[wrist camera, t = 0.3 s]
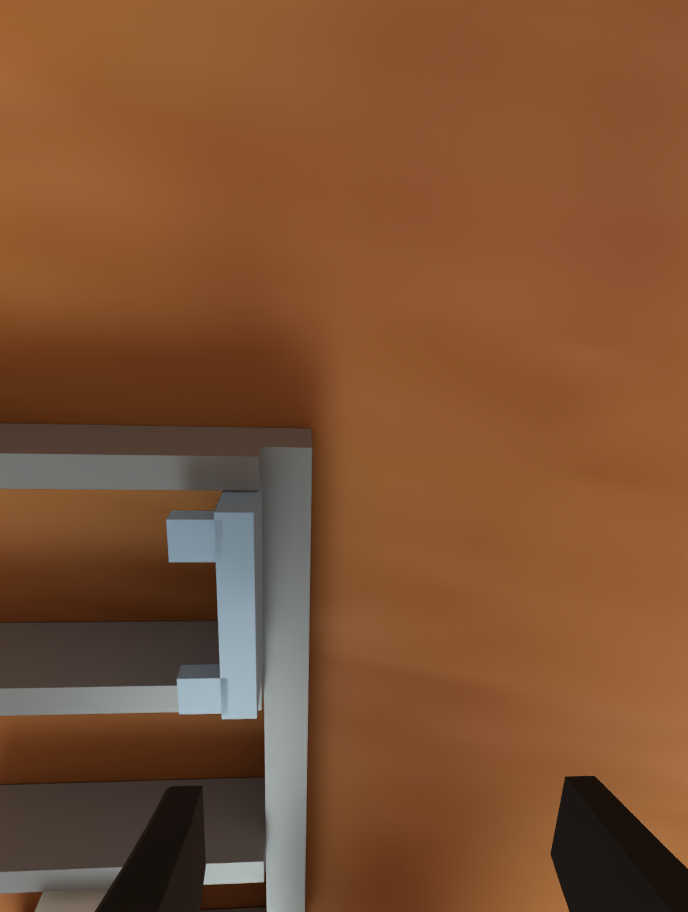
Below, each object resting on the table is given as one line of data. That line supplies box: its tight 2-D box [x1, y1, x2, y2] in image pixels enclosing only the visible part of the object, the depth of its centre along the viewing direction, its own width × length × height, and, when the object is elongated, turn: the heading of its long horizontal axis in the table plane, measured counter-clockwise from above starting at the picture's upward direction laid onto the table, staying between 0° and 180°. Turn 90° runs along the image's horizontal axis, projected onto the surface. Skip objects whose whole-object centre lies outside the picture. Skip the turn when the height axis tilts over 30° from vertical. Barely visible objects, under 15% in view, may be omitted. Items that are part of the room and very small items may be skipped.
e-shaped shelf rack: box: [0, 423, 312, 912], centre depth 19 cm, size 24×12×5 cm, turn 178°
